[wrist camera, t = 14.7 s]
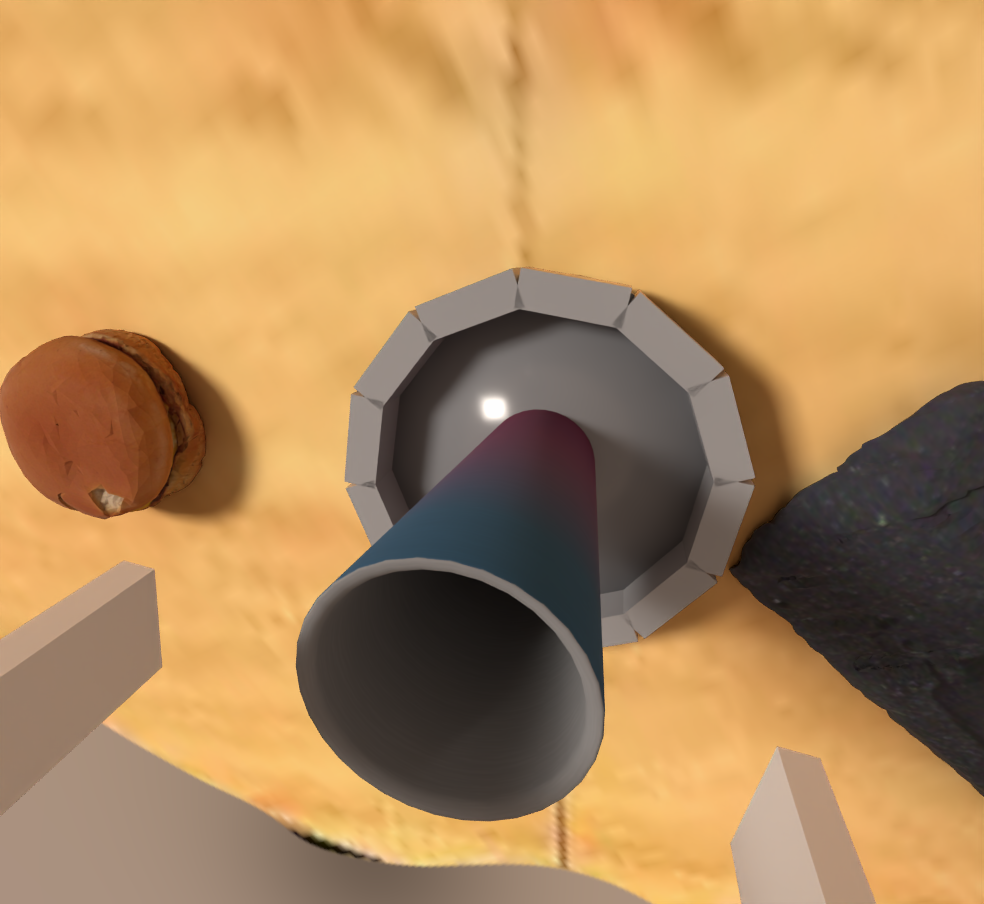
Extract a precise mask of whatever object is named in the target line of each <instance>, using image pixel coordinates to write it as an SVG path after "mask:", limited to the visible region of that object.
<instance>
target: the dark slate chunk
mask: <svg viewBox="0 0 984 904" xmlns="http://www.w3.org/2000/svg"><path fill="white" fill-rule="evenodd" d="M837 470H838V472H835V473H832V474H830V475H828V476H827V477H825V478H823V479H821V480H820V481H818V482H816V483H814V484H812V485H810V486H808V487H807V488H805V489H803V490H801V491H800V492H798V493H797V494H796V495H795V496H794V498H793V499H792V500H791V501H790V502H789V503H788V504H787V505H786V507H783V508H782V509H781V510H780V511H779V512H778V513H777V514H776V515H775V517H774V519H773V520H772V521H771V522H769V523H765V524H764V525H762V526H761V527H759V528H758V529H756V530H755V531H754V532H753V535H752V537H751V539H750V540H749V541H748V542H747V543H746V544H745V545H744V547H743V550H742V557H741V561H740V563H739V565H738V566H735V567H732V568H730V569H729V570H730V572H731V573H732V575H733V576H734V577H736V578H737V579H738V580H739V582H740V583H741V584H742V585H743V586H744V587H746V588H748V589H749V590H750V591H751V593H752V594H753V596H754V597H755V598H756V599H757V600H758V601H760V602H761V603H762V604H763V605H765V606H766V607H768V608H769V609H771V610H773V611H774V612H776V613H777V614H778V615H780V616H781V617H783V618H784V619H786V620H787V621H788V622H790V623H791V625H792V626H793V629H794V631H795V632H796V633H797V634H798V635H799V636H801V637H803V638H804V639H805V640H806V641H807V643H808V644H809V646H810V647H812V648H813V649H814V650H815V651H817V652H819V653H820V654H822V655H823V656H824V657H825V658H826V659H827V661H828V662H829V663H830V664H831V665H832V666H833V667H834V668H835V669H836V670H837V671H838V672H840V673H841V674H842V675H843V676H844V677H845V678H846V679H847V680H848V681H849V683H850V684H851V685H852V686H853V687H855V688H856V689H858V690H860V691H861V692H862V693H863V694H864V696H865V697H866V698H868V699H869V700H871V701H872V702H874V703H875V704H876V705H878V706H879V707H881V708H883V709H885V710H887V713H888V715H889V716H890V718H891V719H893V720H894V721H895V722H897V723H898V724H900V725H901V726H902V727H904V728H905V729H906V730H907V731H908V732H909V733H910V734H911V735H912V736H914V737H915V738H917V739H918V740H919V741H920V742H922V743H923V744H924V745H926V746H927V747H928V748H929V749H930V750H931V751H932V752H933V753H934V754H935V755H937V756H938V757H939V758H941V759H942V760H943V761H944V762H946V763H947V764H949V765H950V766H951V767H952V768H954V769H955V770H956V772H957V773H958V774H959V775H960V776H962V777H963V778H964V779H966V780H967V781H969V782H970V783H971V784H972V785H973V787H974V788H975V789H976V790H977V791H978V792H979V793H980V794H981V795H982V796H984V381H975V382H969V383H964V384H961V385H958V386H956V387H954V388H953V389H951V390H949V391H947V392H944V393H942V394H940V395H939V396H937V397H935V398H934V399H932V400H931V401H930V402H928V403H927V404H925V405H924V406H923V407H921V408H920V409H919V410H918V411H917V412H915V413H914V414H913V415H912V416H910V417H909V418H907V419H906V420H904V421H903V422H901V423H899V424H898V425H896V426H895V427H893V428H892V429H891V430H889V431H888V432H886V433H885V434H883V435H881V436H879V437H877V438H875V439H873V440H870V441H868V442H865V443H864V444H863V445H862V448H861V449H859V450H858V451H856V452H854V453H853V454H851V455H850V456H849V457H848V458H847V460H846V461H845V462H844V463H843V464H842V465H840V466H839V467H837Z"/></svg>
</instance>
